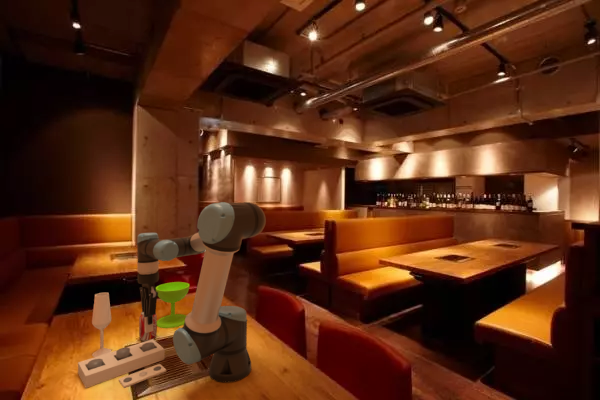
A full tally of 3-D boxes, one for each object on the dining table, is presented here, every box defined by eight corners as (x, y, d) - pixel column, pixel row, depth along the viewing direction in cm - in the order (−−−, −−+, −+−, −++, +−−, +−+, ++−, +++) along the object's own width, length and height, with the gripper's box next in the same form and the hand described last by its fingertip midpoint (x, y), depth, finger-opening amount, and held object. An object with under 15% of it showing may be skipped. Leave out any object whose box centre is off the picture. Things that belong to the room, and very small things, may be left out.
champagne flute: (113, 347, 131) (113, 291, 131) (109, 355, 125) (109, 295, 125) (94, 350, 129) (94, 292, 129) (89, 358, 123) (89, 297, 122)
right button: (156, 353, 124) (156, 344, 124) (144, 358, 121) (144, 348, 120) (151, 350, 127) (151, 341, 127) (140, 353, 124) (140, 344, 124)
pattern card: (166, 371, 114) (166, 369, 114) (124, 388, 104) (124, 385, 104) (159, 365, 118) (159, 363, 118) (118, 380, 108) (118, 378, 108)
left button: (103, 372, 111) (103, 362, 111) (89, 377, 108) (89, 366, 108) (100, 367, 114) (100, 357, 114) (86, 371, 111) (86, 361, 111)
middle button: (131, 359, 117) (131, 350, 117) (118, 364, 114) (118, 354, 114) (127, 355, 120) (127, 346, 120) (114, 359, 117) (114, 350, 117)
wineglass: (172, 313, 169) (172, 280, 169) (196, 318, 164) (196, 284, 163) (148, 325, 154) (148, 288, 154) (173, 330, 149) (173, 292, 148)
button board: (164, 359, 122) (164, 349, 122) (85, 388, 104) (85, 376, 104) (152, 348, 131) (152, 339, 131) (78, 373, 112) (78, 362, 112)
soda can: (149, 343, 136) (149, 315, 136) (135, 341, 137) (135, 314, 137) (160, 335, 143) (160, 309, 142) (146, 334, 144) (146, 308, 144)
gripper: (164, 272, 121) (165, 333, 121) (151, 268, 130) (152, 324, 130) (144, 276, 116) (144, 339, 116) (132, 271, 125) (133, 329, 125)
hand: (148, 331), depth 123 cm, fingers closed
